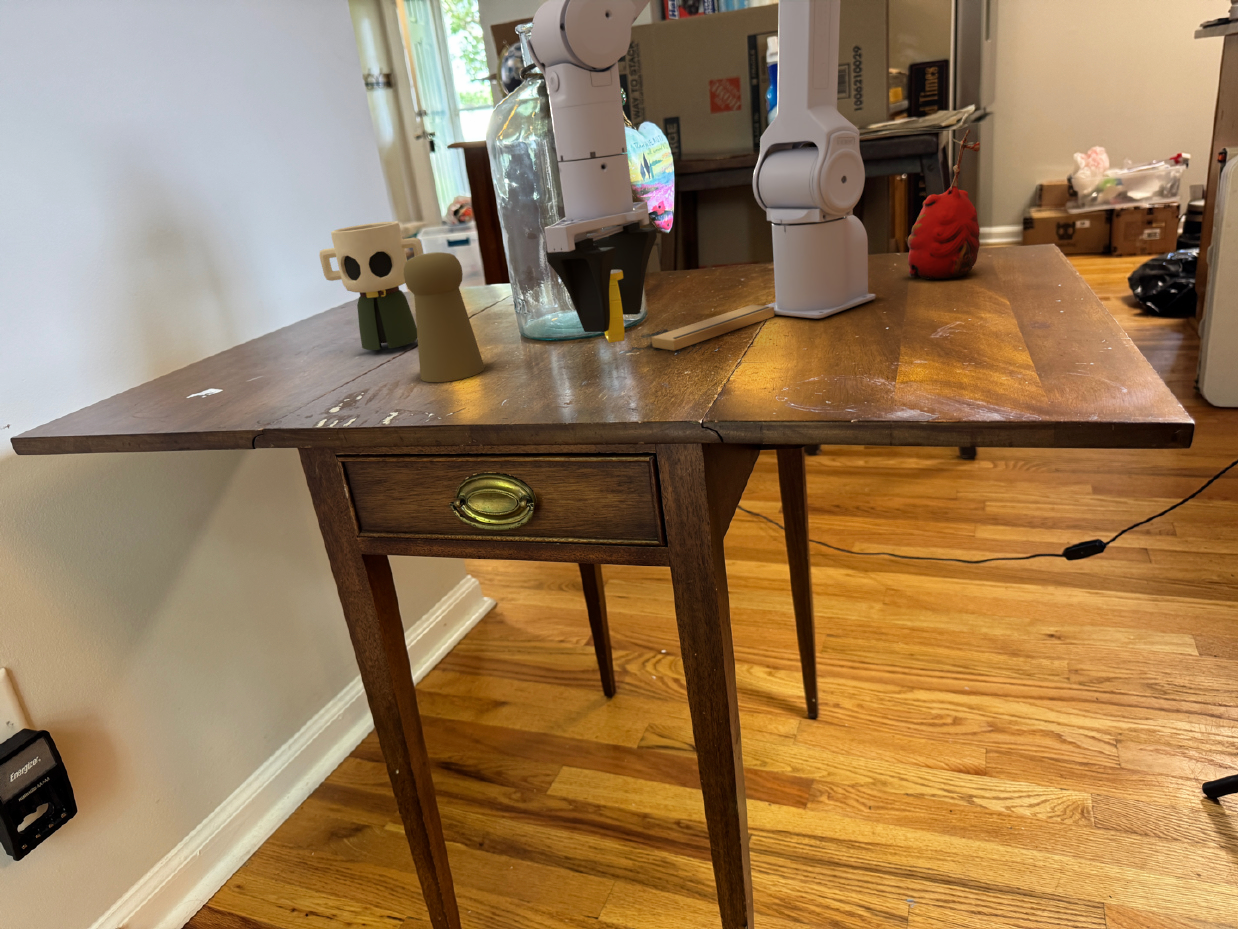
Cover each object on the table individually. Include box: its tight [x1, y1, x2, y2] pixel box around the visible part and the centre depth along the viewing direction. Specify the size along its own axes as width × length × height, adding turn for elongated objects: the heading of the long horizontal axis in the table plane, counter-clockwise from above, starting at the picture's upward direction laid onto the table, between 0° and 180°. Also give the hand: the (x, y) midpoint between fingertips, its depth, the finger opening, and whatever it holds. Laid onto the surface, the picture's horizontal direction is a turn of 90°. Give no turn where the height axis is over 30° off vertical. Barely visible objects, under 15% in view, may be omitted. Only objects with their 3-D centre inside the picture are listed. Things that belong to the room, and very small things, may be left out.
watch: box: [604, 270, 626, 344], centre depth 73 cm, size 6×3×6 cm, turn 7°
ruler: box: [651, 304, 775, 352], centre depth 82 cm, size 14×3×1 cm, turn 130°
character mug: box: [318, 221, 424, 351], centre depth 91 cm, size 11×7×13 cm, turn 91°
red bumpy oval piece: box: [907, 128, 981, 281], centre depth 91 cm, size 8×7×15 cm
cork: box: [404, 251, 486, 383], centre depth 77 cm, size 6×6×11 cm
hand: (612, 322), depth 74 cm, fingers closed on watch, 5 cm apart
